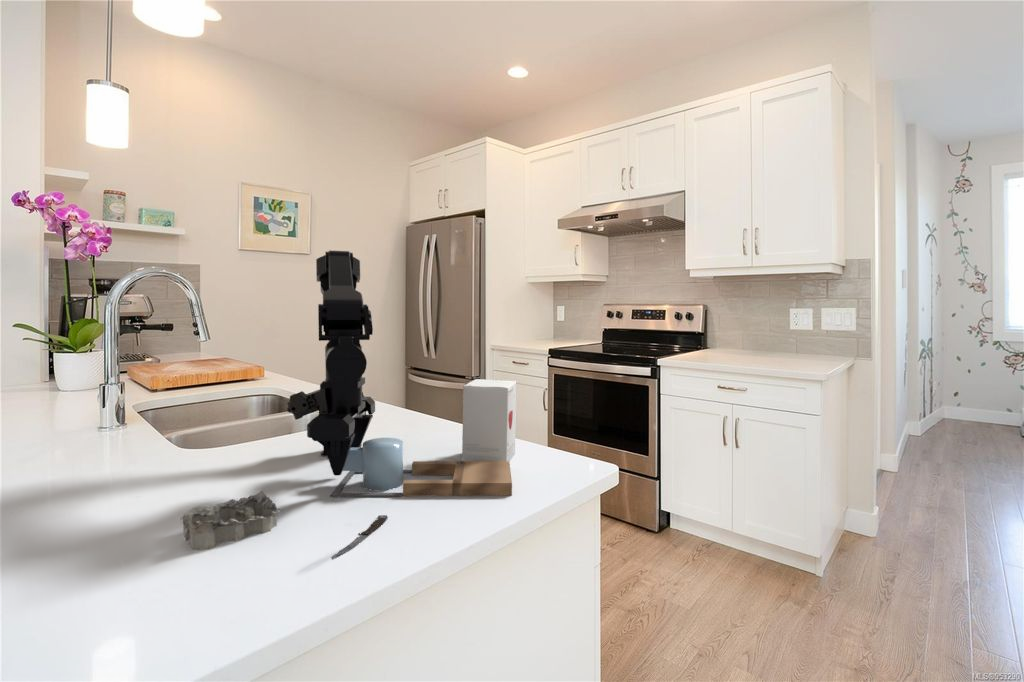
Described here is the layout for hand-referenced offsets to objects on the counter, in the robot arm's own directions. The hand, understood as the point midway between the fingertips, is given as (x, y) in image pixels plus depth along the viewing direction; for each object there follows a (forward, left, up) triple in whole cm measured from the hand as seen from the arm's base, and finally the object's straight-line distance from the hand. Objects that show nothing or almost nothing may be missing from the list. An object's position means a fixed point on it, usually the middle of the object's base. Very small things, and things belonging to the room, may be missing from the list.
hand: (345, 465), depth 86 cm
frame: (+5, 0, -3) cm, 6 cm away
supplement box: (+24, +14, -3) cm, 28 cm away
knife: (+6, -21, -4) cm, 22 cm away
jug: (+4, 0, -3) cm, 5 cm away
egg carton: (-10, -18, -4) cm, 21 cm away
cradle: (+19, 0, -3) cm, 19 cm away
